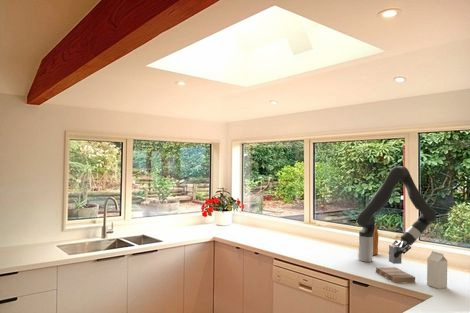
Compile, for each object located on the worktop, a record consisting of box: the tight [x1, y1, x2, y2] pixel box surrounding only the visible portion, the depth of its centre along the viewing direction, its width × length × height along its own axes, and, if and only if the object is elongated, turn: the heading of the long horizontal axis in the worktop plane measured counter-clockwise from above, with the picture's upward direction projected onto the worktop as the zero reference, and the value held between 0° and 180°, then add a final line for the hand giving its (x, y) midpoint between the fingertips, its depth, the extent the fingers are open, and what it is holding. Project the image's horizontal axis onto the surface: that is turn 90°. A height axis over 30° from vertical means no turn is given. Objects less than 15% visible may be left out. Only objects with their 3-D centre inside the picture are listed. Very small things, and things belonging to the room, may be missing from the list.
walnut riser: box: [375, 266, 416, 284], centre depth 214 cm, size 20×13×3 cm, turn 8°
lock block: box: [388, 244, 403, 265], centre depth 214 cm, size 5×5×11 cm
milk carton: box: [426, 250, 448, 290], centre depth 200 cm, size 7×7×19 cm
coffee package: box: [373, 225, 379, 256], centre depth 272 cm, size 10×12×22 cm
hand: (392, 255), depth 214 cm, fingers closed on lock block, 5 cm apart
